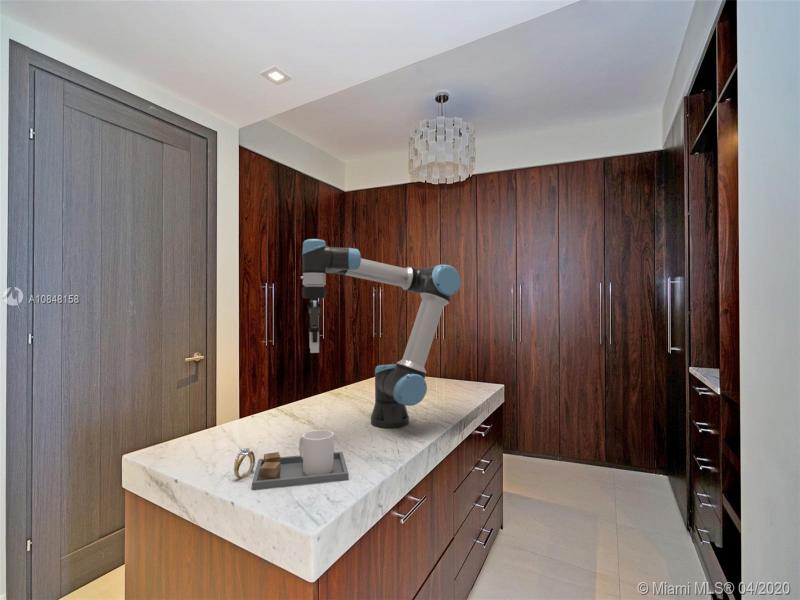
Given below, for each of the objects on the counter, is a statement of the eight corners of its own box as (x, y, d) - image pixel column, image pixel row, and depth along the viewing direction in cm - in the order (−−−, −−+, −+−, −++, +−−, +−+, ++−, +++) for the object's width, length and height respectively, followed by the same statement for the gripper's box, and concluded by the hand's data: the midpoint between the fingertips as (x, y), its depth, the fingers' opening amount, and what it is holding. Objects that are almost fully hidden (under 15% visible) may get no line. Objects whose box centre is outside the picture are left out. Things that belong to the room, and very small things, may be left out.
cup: (317, 480, 106) (317, 441, 106) (288, 469, 113) (288, 432, 113) (339, 469, 112) (339, 433, 112) (310, 459, 119) (310, 425, 119)
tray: (342, 459, 121) (342, 451, 121) (348, 482, 106) (348, 473, 106) (258, 467, 116) (258, 459, 116) (251, 493, 100) (251, 483, 100)
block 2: (280, 477, 107) (280, 462, 107) (275, 483, 103) (275, 468, 103) (265, 477, 108) (265, 462, 108) (259, 483, 104) (259, 468, 104)
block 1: (278, 466, 115) (278, 451, 115) (280, 471, 111) (280, 456, 111) (263, 468, 113) (263, 454, 113) (265, 473, 110) (265, 459, 110)
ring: (249, 472, 112) (249, 444, 112) (258, 474, 111) (258, 445, 111) (229, 482, 106) (230, 452, 106) (239, 485, 105) (239, 454, 105)
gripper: (302, 287, 145) (302, 346, 145) (302, 284, 121) (302, 355, 120) (323, 287, 147) (323, 346, 146) (327, 284, 122) (327, 354, 122)
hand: (314, 350), depth 133 cm, fingers open, 13 cm apart
